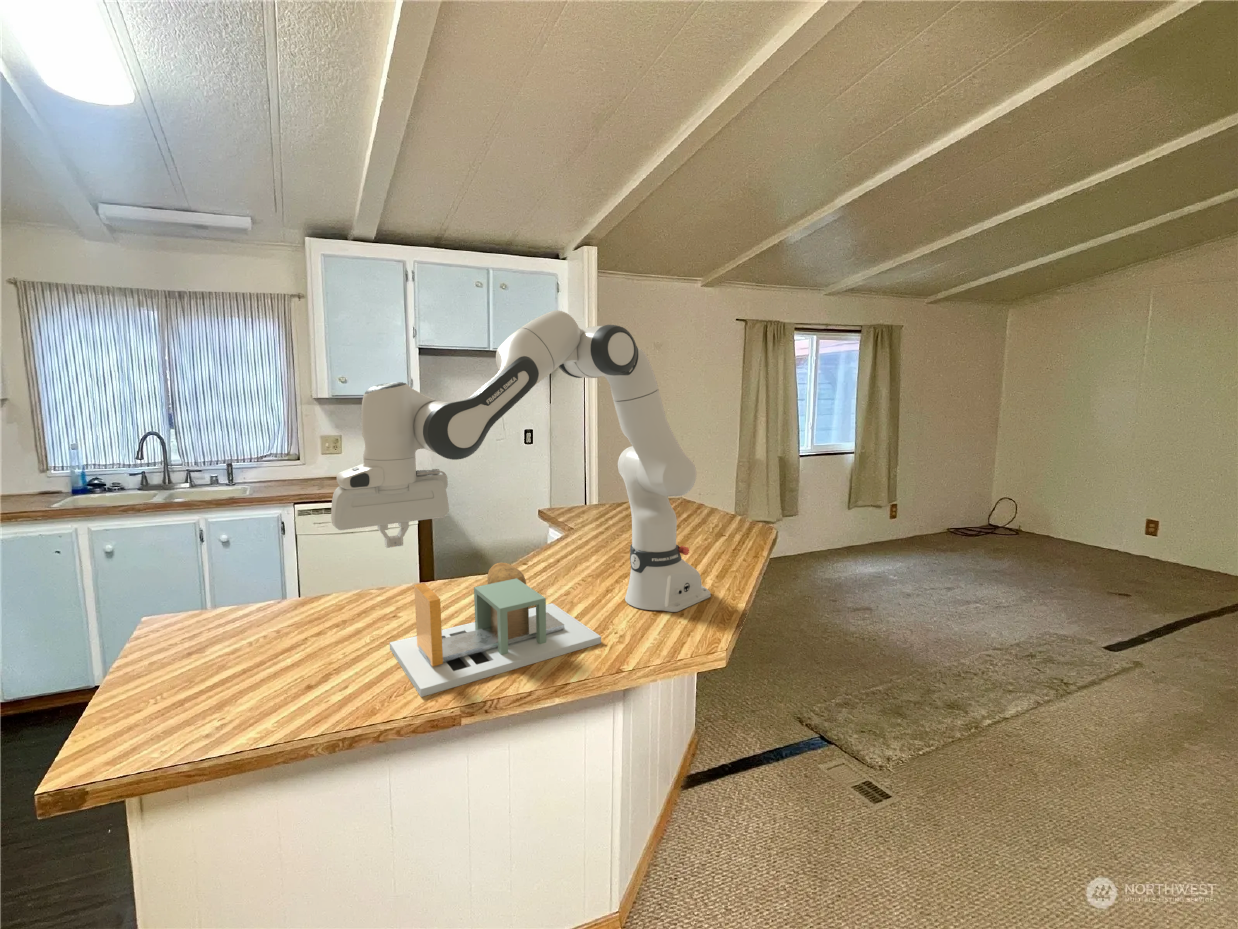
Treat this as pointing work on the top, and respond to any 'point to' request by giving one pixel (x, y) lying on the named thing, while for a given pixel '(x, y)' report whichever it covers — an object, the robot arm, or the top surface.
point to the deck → (490, 654)
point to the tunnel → (508, 608)
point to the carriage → (468, 642)
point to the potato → (504, 573)
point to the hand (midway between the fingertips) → (394, 546)
